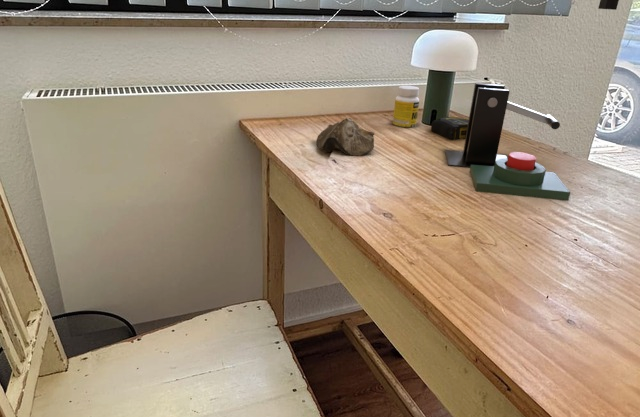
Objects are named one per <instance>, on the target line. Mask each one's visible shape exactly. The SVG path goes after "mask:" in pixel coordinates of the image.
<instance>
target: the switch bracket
mask: <svg viewBox="0 0 640 417" xmlns="http://www.w3.org/2000/svg"><path fill="white" fill-rule="evenodd" d="M483 87H485V88H483ZM510 93H511V91H510V90H509V89H506V85H504V84H492V83H481V82H480V83H479V82H475V83H474V86H473V92H472V98H471V103H470V109H469V116H468V120H469V121H468V127H467V132H466V138H465V139H464V145H463V150H450V149H445V150H444V154H445V158H446V162H447V166H448V167H454V168H455V167H457V168H467V169H470V166H471V165H481V166H492V167H494V165H495V161H497V160H499V159H502V158H508V156H507V155H506V154H498V151H499V146H500V141H501V136H502V132H503V127H504V121H505V116H506V112H507V109H506V107H507V102H509V97H510Z"/></svg>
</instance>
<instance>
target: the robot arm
mask: <svg viewBox="0 0 640 417" xmlns="http://www.w3.org/2000/svg"><path fill="white" fill-rule="evenodd" d="M619 1H620V0H599V4H598V8H597V9H599V10H613V11H614V10H617V9H618V4H619Z"/></svg>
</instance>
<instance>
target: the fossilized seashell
mask: <svg viewBox="0 0 640 417" xmlns="http://www.w3.org/2000/svg"><path fill="white" fill-rule="evenodd" d="M317 135H318V136H317V138H316V143H315V145H316V146H315V147H316V148H317V150H319V151H324V152H328V153H329V152H330V153H333V151H341V152H342V153H343V154H345V155H347V156H349V157H363V156H367V154H369V153H370V152H372V150H374V148H375V138H374V136H375V132H373V131H369V130H366V129H363V128H361V127H360V126H359V125H358V124H357V122H355V121H354V120H353V119H352V118H350V117H345V118H344V119H342V120H340V121H338V122H335V123H334V124H328V125H327V127H326V128H324V129H323V130H322V131H321V132H320V133H319V134H317Z"/></svg>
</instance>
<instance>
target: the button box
mask: <svg viewBox="0 0 640 417" xmlns="http://www.w3.org/2000/svg"><path fill="white" fill-rule="evenodd" d="M507 160H508V157H507V158H502V159H499V160H497V161H495V165H494V167H492V166H481V165H471V166H470V168H469V175H470V178H471V181H472V185H473V187H474V191H475V192H478V193H488V194H489V193H490V194H499V195H507V196H516V197H517V196H518V197H528V198H537V199H546V200H547V199H548V200H557V201H569V199H570V196H571V191H570V189H568V187H567V186H566V185H565V183H564V182H563V180H562V179H561V178H560V177H559V176H558V175H557V174H556V173H555V172H553V171H547V169H546V168H545V167H544V165H542V164H541V163H538V162H535V166H534V170H529V171H526V170H518V169H514V168H510V167H508V166H506V164H507Z"/></svg>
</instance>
